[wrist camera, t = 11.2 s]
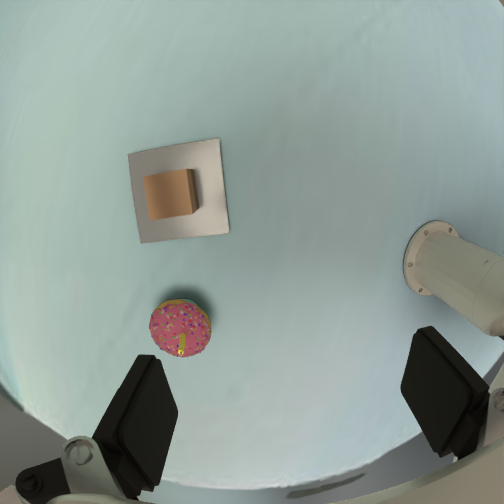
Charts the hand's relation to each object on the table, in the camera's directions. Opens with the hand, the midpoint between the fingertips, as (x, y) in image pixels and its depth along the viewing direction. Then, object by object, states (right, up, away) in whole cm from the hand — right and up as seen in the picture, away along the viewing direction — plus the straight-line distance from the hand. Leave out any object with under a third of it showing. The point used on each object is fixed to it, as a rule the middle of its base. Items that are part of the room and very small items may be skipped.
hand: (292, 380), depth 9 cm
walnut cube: (-11, +12, +25) cm, 30 cm away
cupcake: (-11, -4, +31) cm, 33 cm away
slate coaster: (-11, +12, +26) cm, 31 cm away
